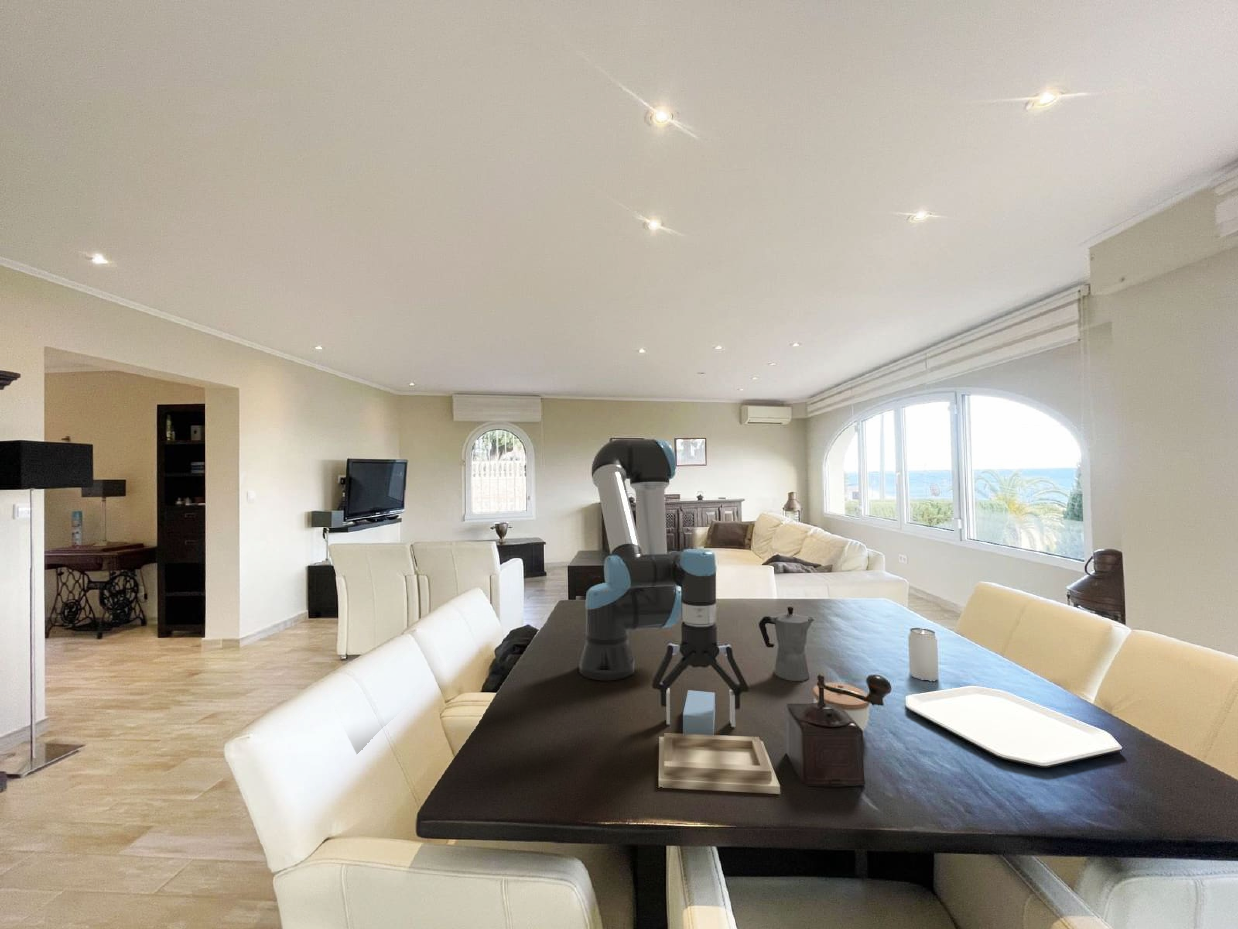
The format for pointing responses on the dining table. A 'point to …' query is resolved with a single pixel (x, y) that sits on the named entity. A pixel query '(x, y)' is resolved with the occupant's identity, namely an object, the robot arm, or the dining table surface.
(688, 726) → the blue block
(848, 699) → the lidded jar
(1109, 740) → the plate
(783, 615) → the coffeepot
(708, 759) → the slot holder
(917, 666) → the can
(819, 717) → the coffee grinder
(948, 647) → the dining table surface
